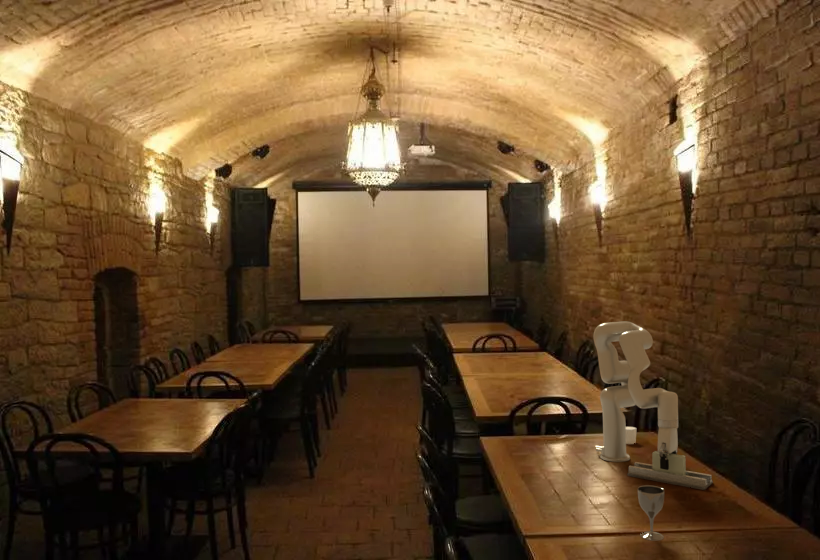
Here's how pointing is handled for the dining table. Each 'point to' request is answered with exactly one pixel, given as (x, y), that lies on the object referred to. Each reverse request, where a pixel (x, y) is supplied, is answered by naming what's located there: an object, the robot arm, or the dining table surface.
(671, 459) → the door panel
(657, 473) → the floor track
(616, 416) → the robot arm
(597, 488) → the dining table surface
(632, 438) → the shot glass
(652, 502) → the wine glass
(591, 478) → the dining table surface
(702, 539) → the dining table surface
